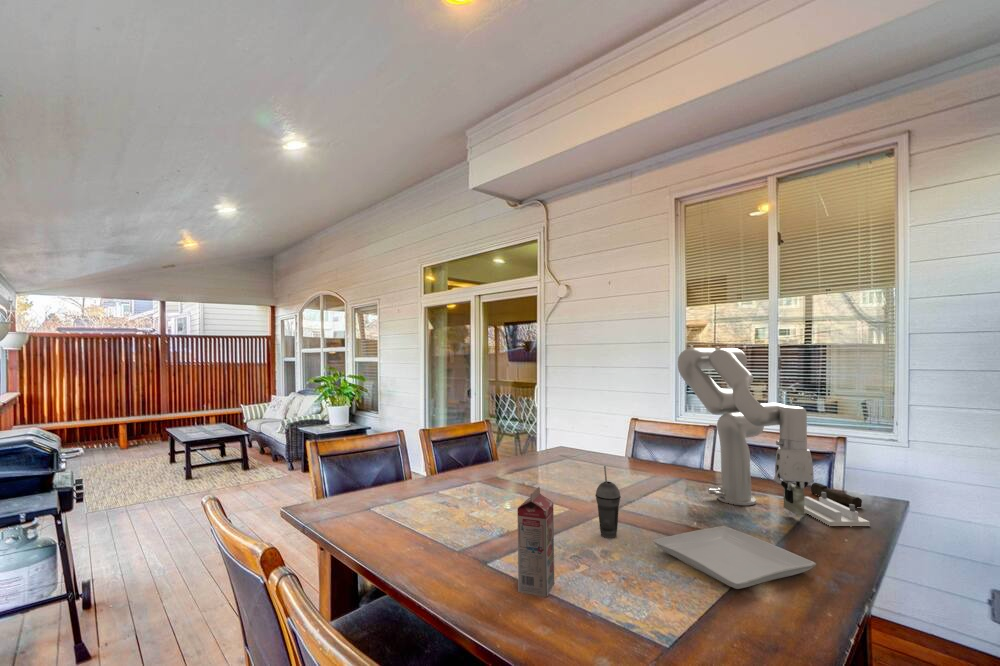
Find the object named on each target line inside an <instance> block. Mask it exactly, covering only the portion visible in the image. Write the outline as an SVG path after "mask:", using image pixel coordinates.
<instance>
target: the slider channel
mask: <svg viewBox="0 0 1000 666" xmlns="http://www.w3.org/2000/svg"><path fill="white" fill-rule="evenodd" d="M821 495H822V497H819V496H818V500H817V499H814V498H812V497H810V496H804V512H805V513H804V514H806V513H807V514H809V515H811V516H812V517H811V516H810V517H811V518H813V517H814V519H815V518H816V519H815V520H817V519H818V520H817V521H819V520H820V521H819V522H821V521H822V522H823V523H822V522H821V523H822V524H824V523H825V524H824V525H826V524H827V526H828V525H829V526H828V527H830V526H850V528H851V527H852V526H870V525H871V524H870V523H871V521H870V520H867V519H865V518H862V517H861V516H859V512H858V511H857V510H856V509H855V505H853V504H849V506H847V505H844V504H842V503H840V502H837V501H835V500H831V499H829V498H827V496H826V492H821ZM807 514H806V515H807ZM809 515H808V516H809ZM852 528H853V527H852Z"/></svg>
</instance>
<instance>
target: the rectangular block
mask: <svg viewBox="0 0 1000 666" xmlns="http://www.w3.org/2000/svg"><path fill="white" fill-rule="evenodd" d="M791 490H792V491H793V503H790V502H788V501H786V499H785V488H783V508H784V509H786V510H787V511H789V512H791V513H793V514H794V515H796V516H805V513H804V497H805V488H804V489H802V488H800V487H798V486H796V484H794V483H792V489H791Z"/></svg>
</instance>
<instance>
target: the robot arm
mask: <svg viewBox="0 0 1000 666" xmlns="http://www.w3.org/2000/svg"><path fill="white" fill-rule="evenodd" d="M747 363H748V359H747V355H746V354H745V352H744V351H743V350H741V349H739V348H734V347H732V348H731V347H730V348H725V347H724V348H723V347H722V348H719V347H717V348H716V347H715V348H714V347H691V348H687V349H684V350H683V351H681V352H680V354H679V355H678V358H677V370H678V373H679V375H680V376H681V379H682V380H683V381H684V382H685V383H686V384H687V386H689V388H691V391H693V393H694V394H695V395H696V397H697V398H698V399H699V401H700V402H701V404H702V405H703V406H704V408H705V409H706V410H707V411H708V412H709V414H712V415H716V416H717V415H721V416H719V418H718V420H717V423H716V430H717V434H718V439H719V447H720V448H719V449H720V469H721V470H720V472H721V474H720V475H721V480H720V481H721V485H718V487H716V488H708V489H707V492H708V495H714V496H716V497H717V500H718V501H720V502H723V503H725V504H728V503H729V505H733V504H734V505H735V506H752V505H756V504H757V499H756V498H755V496H753V495H752V479H751V473H752V472H751V455H750V454H751V453H750V452H751V451H750V448H749V445H748V442H747V438H753V437H757V436H759V435H761V434H762V433H763V431H764V427H770V426H772V427H773V426H779V438H778V440H776V441H775V444H776V445H777V446H779V447H777V451H776V456H775V460H774V461H775V463H774V473H775V474H774V477H773V480H772V481H773V482H775V483H777V484H779V485H780V486H782V488H783V489H784V488H785V499H786V501H788V502H790V503H793V491H792V490H791V489H792V484H793V482H794V483H795V485H796V486H798V487H800V488H802V489H804V490H805V488H806V487H808V485H812V484H813V483H815V482H814V480H815V479H814V477H815V475H814V464H813V459H812V458H813V457H812V454H811V451H810V449H808V429H807V428H808V421H807V420H808V419H807V418H808V417H807V416H808V415H807V414H808V412H807V410H806V408H804V407H803V406H797V405H787V404H783V403H779V402H767V403H766V402H763V403H760V402H759V401H758V400H757V399H756V398H755V396H754V395H753V394H752V392H751V390H750V388H749V387H750V386H752V383H753V382H754V376H753V374H752V373H751V371H749V370H748V369H747V368H746V366H747ZM703 370H714V371H715V372H716V373H717V374H718V376H720V377H721V379H722V380H723V381H724V382H725V383H726V384H727V386H729V388H721V387H720V386H719V385H718V384H717V382H715V380H714V379H713V378H712V377H711V376H710V375H708V374H707V373H706V372H705V371H703Z"/></svg>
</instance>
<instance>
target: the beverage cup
mask: <svg viewBox="0 0 1000 666" xmlns="http://www.w3.org/2000/svg"><path fill="white" fill-rule="evenodd" d="M603 472H604V481H603V482H601V483H600V484H598V486H597V488H596V490H595V491H596V492H595V500H596V503H597V511H598V512H597V513H598V522H599V532H600V536H601V538H603V537H604V539H608V540H609V539H611V540H613V539H616V538H617V534H618V525H619V524H618V523H619V509H620V501H621V498H622V497H621V492H620V489H619V488H618V486H617V485H616V484H615V483H613V482H611V481H608V479H607V466H606V465H604V466H603Z"/></svg>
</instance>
